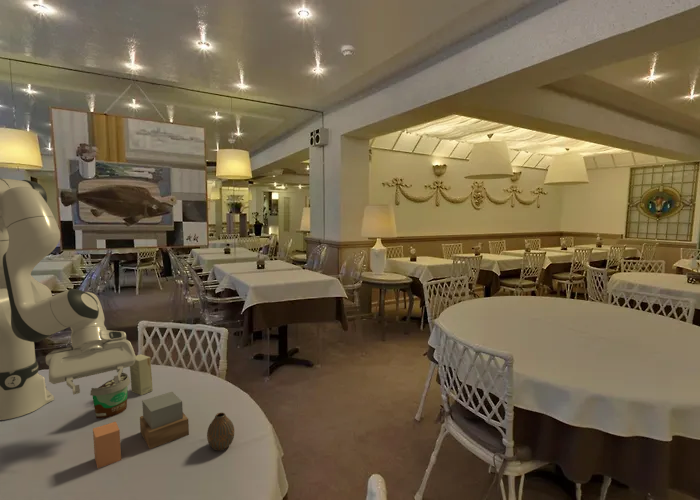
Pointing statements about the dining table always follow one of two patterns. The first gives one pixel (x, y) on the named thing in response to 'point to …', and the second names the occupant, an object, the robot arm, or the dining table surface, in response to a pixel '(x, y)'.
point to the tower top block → (162, 410)
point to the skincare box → (141, 375)
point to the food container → (111, 397)
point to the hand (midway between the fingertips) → (97, 387)
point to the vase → (220, 432)
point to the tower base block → (164, 432)
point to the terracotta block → (107, 444)
